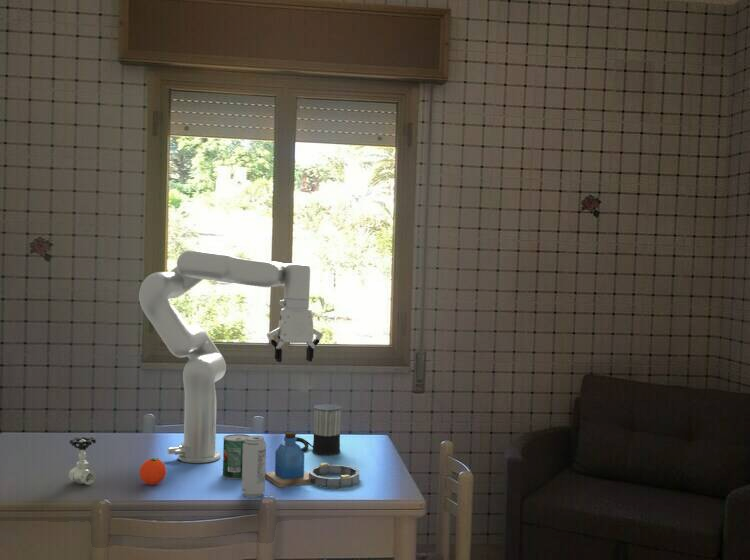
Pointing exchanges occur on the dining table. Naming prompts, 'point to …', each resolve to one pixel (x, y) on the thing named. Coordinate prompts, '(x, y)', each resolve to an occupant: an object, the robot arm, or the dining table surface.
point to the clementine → (152, 471)
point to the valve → (82, 462)
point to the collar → (346, 479)
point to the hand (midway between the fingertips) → (294, 361)
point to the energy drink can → (253, 466)
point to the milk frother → (325, 430)
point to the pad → (287, 482)
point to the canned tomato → (233, 456)
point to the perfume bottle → (289, 458)
